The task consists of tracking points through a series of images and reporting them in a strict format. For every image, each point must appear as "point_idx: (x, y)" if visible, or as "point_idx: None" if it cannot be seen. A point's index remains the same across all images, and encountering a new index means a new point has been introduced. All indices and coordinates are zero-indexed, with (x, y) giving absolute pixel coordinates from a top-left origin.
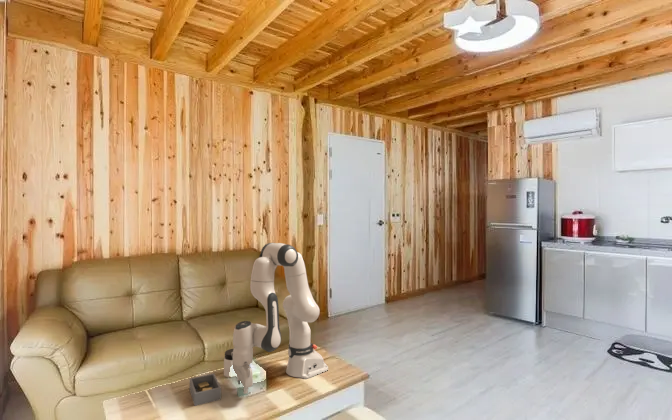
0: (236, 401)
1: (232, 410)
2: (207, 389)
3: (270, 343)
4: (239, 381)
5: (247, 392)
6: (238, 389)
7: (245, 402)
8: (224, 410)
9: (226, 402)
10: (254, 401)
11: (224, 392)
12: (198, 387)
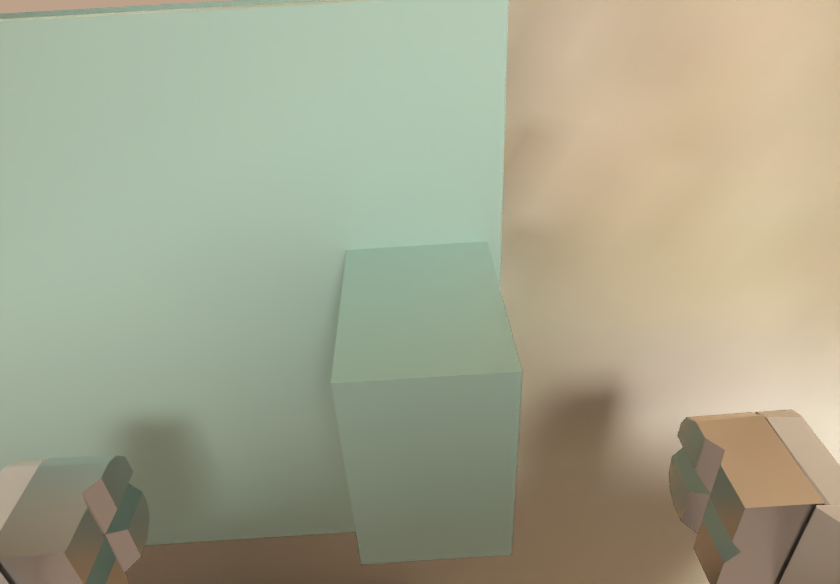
0: (563, 436)
1: None
2: None
3: None
4: (112, 573)
5: (795, 419)
6: (463, 553)
7: (708, 313)
8: (700, 579)
9: None
10: (820, 127)
11: (161, 544)
12: None
